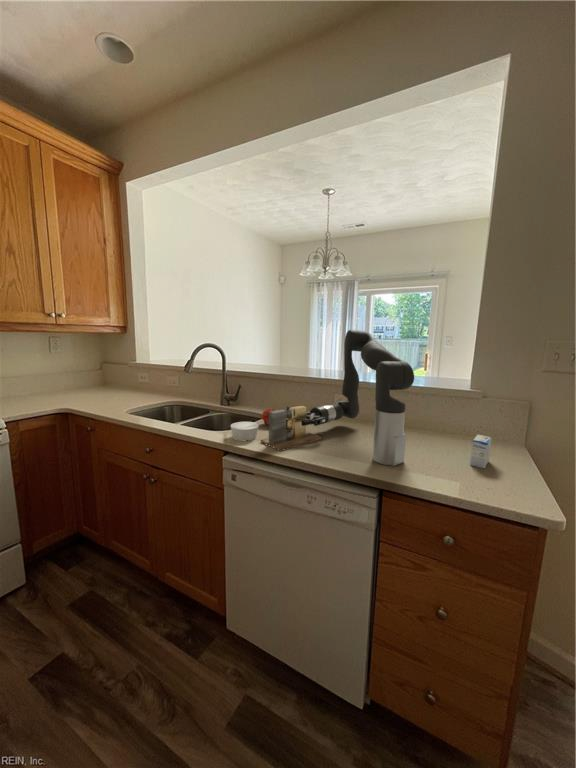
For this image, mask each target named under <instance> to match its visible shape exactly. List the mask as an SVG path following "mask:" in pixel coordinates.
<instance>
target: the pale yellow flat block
mask: <svg viewBox="0 0 576 768" xmlns="http://www.w3.org/2000/svg"><path fill="white" fill-rule="evenodd" d="M289 409H292V418H289V419H286V430H290V431H292V438H293V439H297V438H301V437H304V436H306V432H307V425H306V426H302V425H301V424H302V420H305V419H306V412H307V406H304V405H298V406H291V407H289Z"/></svg>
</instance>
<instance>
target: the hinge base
mask: <svg viewBox="0 0 576 768" xmlns="http://www.w3.org/2000/svg"><path fill="white" fill-rule="evenodd" d="M289 418H292V409H290V405H287V406H286V408H282V409H277V410H276V409H275V411H270V412H269V424H268V437H267V438H262V439H260V443H261V442H263V443H265V444H267V445H266V446H268V445H270V446H272V447H274V448H273V449H275V448H276V449H275V450H277V449H279V450H283V449H286V450H288V449H287V448H289V449H292V448H291V447H293V448H295V447H294V446H296V447H299V446H298V445H300V446H302V444H303V445H307V444H310V443H312V442H317V441H319V440H322V438H323V437H322V436H320V435H318V434H315V433H312V432H309V431H306V436H304V437H301V438H297V439H293V438H292V431H290V430H286V419H289ZM309 442H310V443H309ZM263 443H262V444H263ZM306 443H307V444H306ZM265 444H264V445H265ZM270 446H269V447H270ZM272 447H271V448H272ZM279 450H278V451H279ZM283 451H284V450H283Z"/></svg>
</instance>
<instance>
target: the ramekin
mask: <svg viewBox="0 0 576 768" xmlns="http://www.w3.org/2000/svg"><path fill="white" fill-rule="evenodd" d="M230 429H231V435H232V438H233V439H234V440H235V439H236V440H235V441H238V440H249V441H253V440H255V439H256V438H257V435H258V430H259V424H258V423H256V422H253V421H238V422H233V423H231V424H230ZM254 438H255V439H254ZM252 439H253V440H252Z"/></svg>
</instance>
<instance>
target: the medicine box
mask: <svg viewBox="0 0 576 768" xmlns="http://www.w3.org/2000/svg"><path fill="white" fill-rule="evenodd" d="M491 447H492V437H491V436H486V435H483V434H482V435H481V434H476V436H475V437H474V439H473V440H472V444H471V453H470V462H469V465H470V466H473V467H478V468H480V469H486V467H487V465H488V463H489V461H490V454H491V449H492V448H491Z"/></svg>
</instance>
